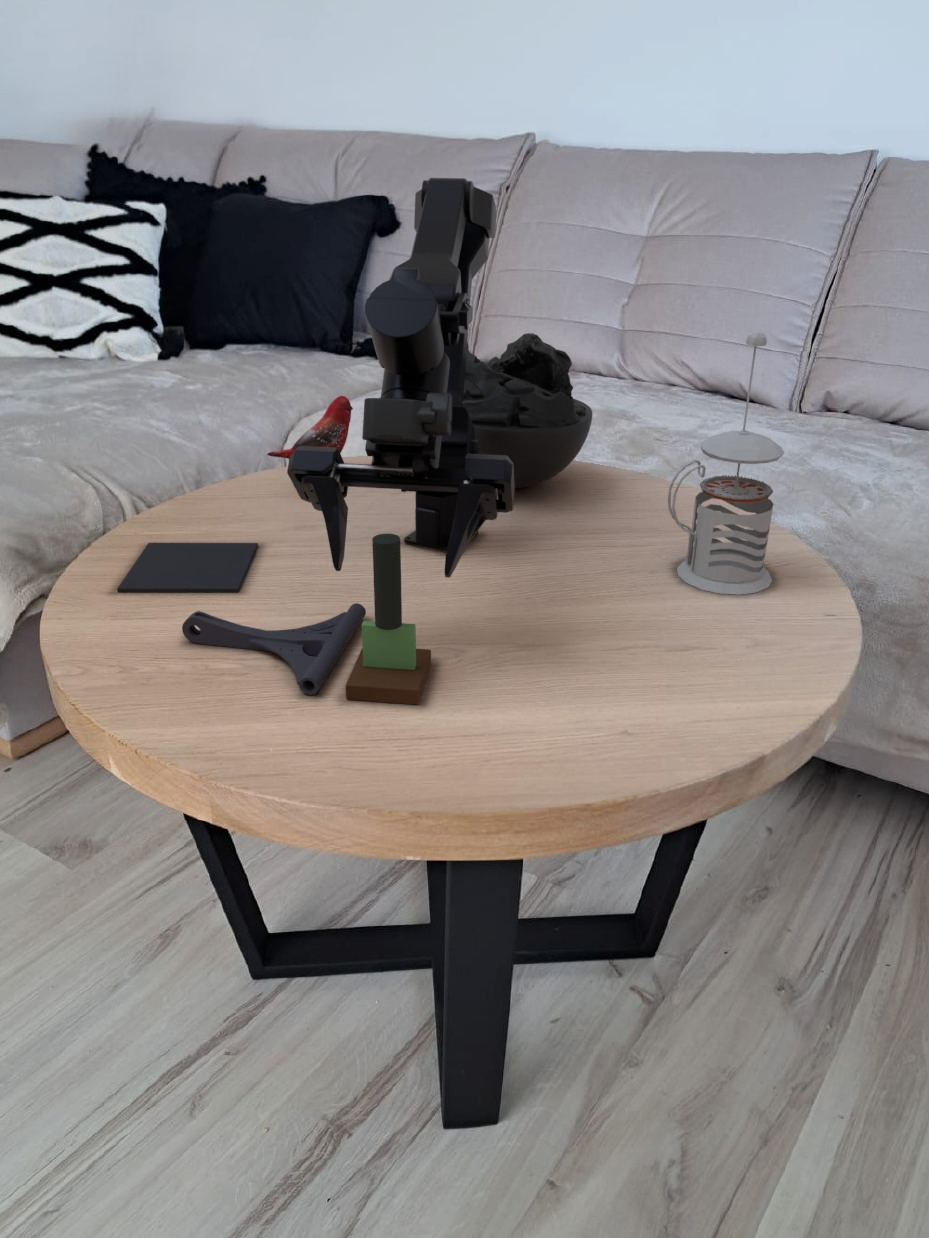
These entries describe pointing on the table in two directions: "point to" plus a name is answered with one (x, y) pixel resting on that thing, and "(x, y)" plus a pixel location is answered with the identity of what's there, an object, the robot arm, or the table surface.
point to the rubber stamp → (388, 638)
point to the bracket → (284, 642)
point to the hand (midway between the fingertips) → (391, 572)
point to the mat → (190, 567)
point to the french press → (730, 512)
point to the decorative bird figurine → (325, 429)
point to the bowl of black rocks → (526, 409)
